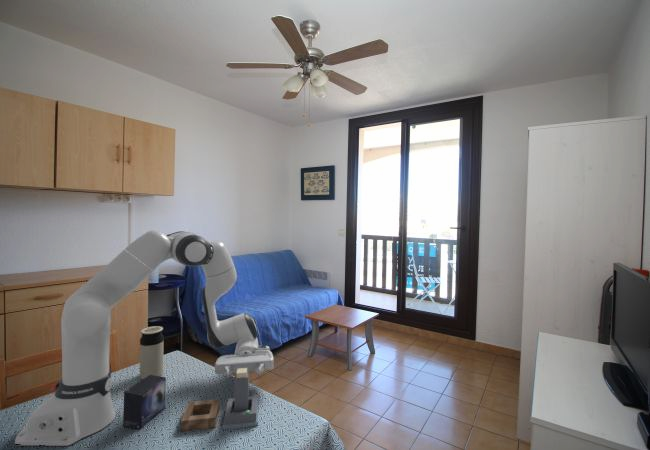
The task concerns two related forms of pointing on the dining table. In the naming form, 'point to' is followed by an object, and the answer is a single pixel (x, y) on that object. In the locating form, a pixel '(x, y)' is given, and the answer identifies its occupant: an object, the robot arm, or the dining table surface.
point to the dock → (241, 415)
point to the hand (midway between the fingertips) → (243, 374)
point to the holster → (200, 421)
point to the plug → (241, 390)
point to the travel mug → (151, 352)
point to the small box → (144, 401)
